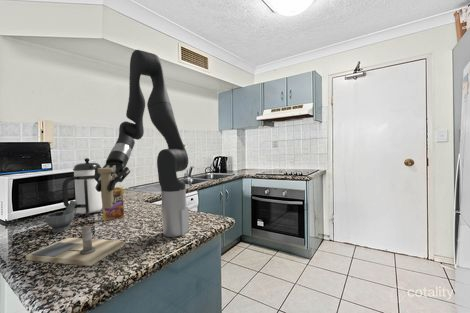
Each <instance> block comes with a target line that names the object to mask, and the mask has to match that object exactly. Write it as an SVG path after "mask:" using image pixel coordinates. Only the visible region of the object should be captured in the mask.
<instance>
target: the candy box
mask: <svg viewBox="0 0 470 313" xmlns="http://www.w3.org/2000/svg"><path fill="white" fill-rule="evenodd" d="M112 203H113V206H112V207H111V208H102V210H103V211H102V214H103V215H102V216H103V222H105V221H106V222H107V221H110V220H117V219H124V218H125V205H124V188H123V186H116V187H114V189H113V202H112Z"/></svg>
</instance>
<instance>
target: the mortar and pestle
mask: <svg viewBox="0 0 470 313" xmlns="http://www.w3.org/2000/svg"><path fill="white" fill-rule="evenodd" d="M76 204H77V202H76V201H75V200H74V199H73V200H70V201H69V205H68V207H67V208H66V207H65V208H66V209H65V210H62V211H55V212H53V213H49V214H47V215H45V216H44V220H45V223H46V225H47V226H48V227H50V228H51V233H60V232H64V231H67V230H69V229H71V223H72V222H73V220H74V219H75V216H74V213H75V211H74V209H75V208H74V207H75V205H76Z"/></svg>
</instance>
